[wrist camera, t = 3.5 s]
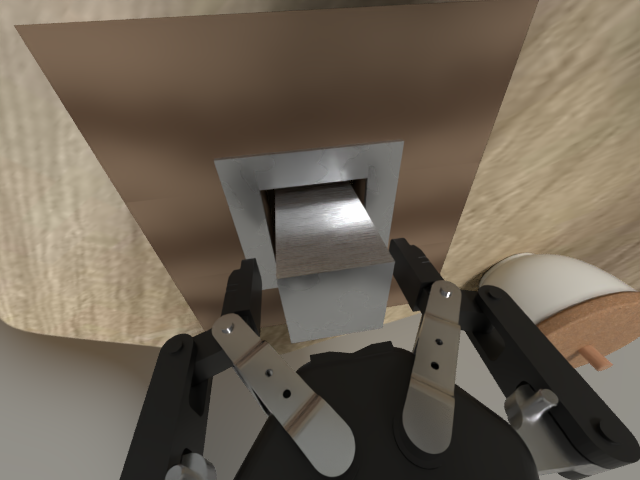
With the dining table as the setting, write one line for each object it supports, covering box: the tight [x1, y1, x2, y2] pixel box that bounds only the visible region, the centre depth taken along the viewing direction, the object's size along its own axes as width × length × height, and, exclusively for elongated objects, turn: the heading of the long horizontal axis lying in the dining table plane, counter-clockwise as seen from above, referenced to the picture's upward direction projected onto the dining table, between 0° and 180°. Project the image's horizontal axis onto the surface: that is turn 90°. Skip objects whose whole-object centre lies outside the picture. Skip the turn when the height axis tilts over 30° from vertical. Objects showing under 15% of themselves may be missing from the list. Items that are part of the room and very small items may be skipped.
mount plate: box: [14, 0, 539, 331], centre depth 18 cm, size 22×22×3 cm
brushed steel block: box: [275, 180, 395, 343], centre depth 16 cm, size 5×5×10 cm
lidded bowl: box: [479, 253, 640, 371], centre depth 25 cm, size 13×13×11 cm
